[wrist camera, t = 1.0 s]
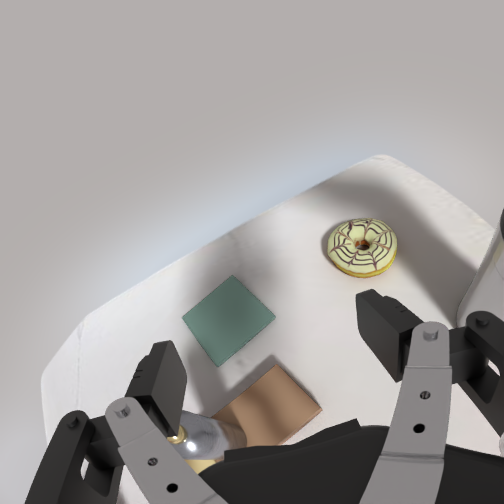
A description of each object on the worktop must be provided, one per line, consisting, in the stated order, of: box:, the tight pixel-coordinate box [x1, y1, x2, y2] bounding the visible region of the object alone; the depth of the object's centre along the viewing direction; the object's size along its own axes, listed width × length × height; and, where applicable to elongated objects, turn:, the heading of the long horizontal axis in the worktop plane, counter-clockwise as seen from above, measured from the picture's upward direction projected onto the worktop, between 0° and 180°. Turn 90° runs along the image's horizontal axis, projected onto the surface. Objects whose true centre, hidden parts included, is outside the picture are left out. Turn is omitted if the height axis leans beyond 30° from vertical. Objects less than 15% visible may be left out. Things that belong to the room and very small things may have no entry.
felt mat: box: [182, 275, 276, 367], centre depth 43 cm, size 11×11×1 cm
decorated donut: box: [327, 218, 397, 278], centre depth 41 cm, size 10×11×4 cm
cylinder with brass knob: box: [167, 410, 247, 460], centre depth 24 cm, size 5×5×13 cm
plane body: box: [184, 364, 322, 474], centre depth 29 cm, size 22×8×3 cm, turn 128°
